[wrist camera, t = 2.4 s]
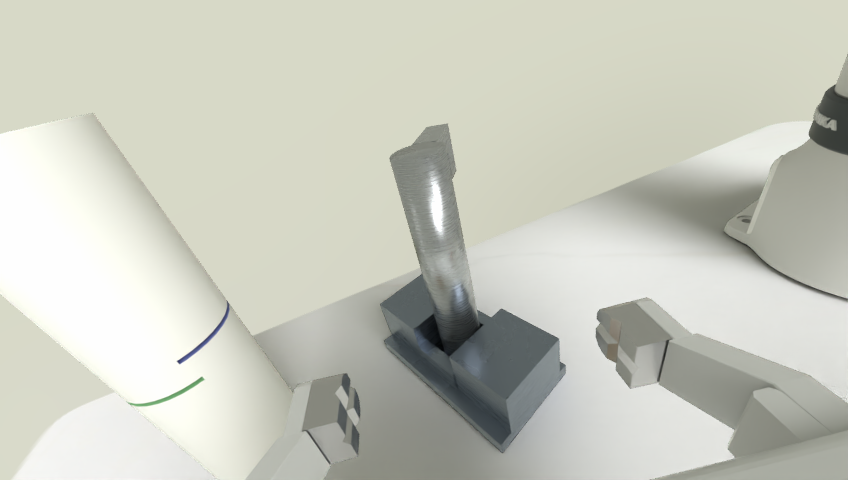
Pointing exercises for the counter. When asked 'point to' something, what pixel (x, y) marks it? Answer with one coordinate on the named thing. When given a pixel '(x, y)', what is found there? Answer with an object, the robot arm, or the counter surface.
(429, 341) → the vise
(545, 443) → the counter surface
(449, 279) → the brushed metal post
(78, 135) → the cylindrical container
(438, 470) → the counter surface
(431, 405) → the counter surface
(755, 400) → the robot arm
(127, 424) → the counter surface
